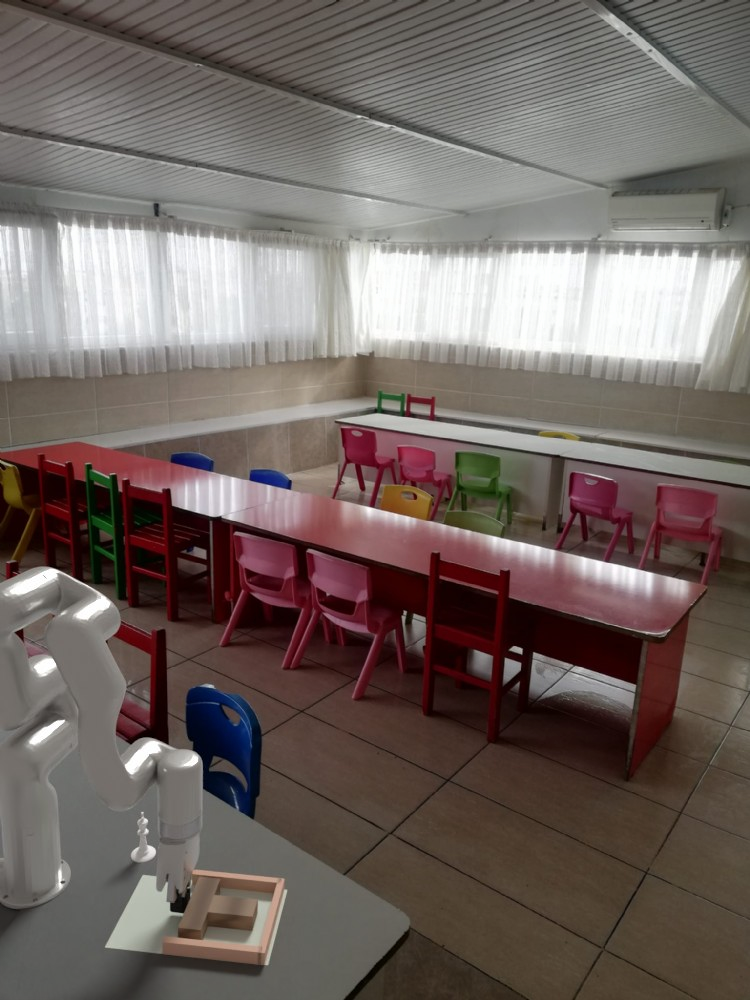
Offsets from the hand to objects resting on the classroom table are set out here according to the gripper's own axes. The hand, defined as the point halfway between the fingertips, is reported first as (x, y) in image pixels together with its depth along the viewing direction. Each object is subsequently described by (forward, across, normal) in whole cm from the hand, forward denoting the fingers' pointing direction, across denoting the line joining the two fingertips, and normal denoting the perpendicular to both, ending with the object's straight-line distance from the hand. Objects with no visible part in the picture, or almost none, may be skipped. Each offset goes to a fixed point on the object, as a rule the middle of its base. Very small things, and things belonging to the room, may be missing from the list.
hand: (180, 909), depth 133 cm
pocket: (+1, 0, +8) cm, 9 cm away
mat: (+2, 0, +4) cm, 4 cm away
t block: (+1, 0, +8) cm, 8 cm away
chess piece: (+2, -14, -12) cm, 19 cm away
